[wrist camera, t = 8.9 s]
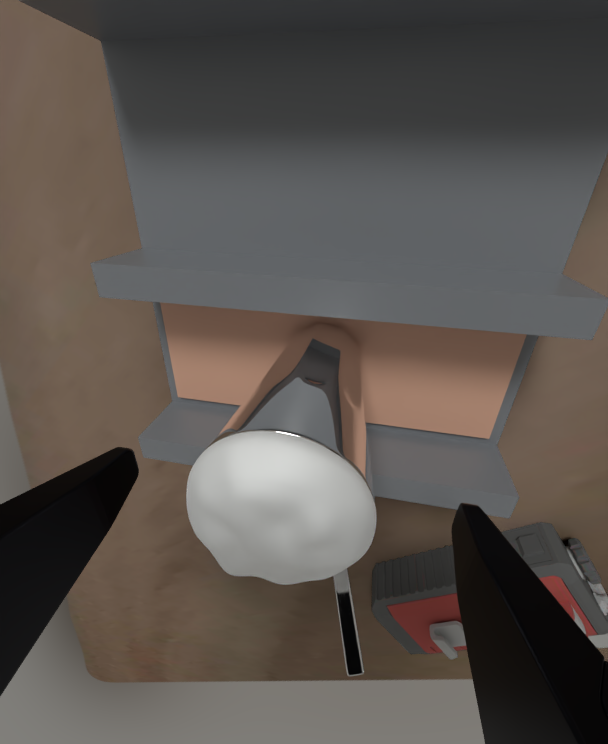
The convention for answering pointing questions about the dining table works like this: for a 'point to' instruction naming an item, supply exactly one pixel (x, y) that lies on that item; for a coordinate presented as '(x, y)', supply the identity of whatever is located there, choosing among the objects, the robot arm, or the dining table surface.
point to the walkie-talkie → (439, 595)
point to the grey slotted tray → (358, 207)
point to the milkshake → (294, 476)
